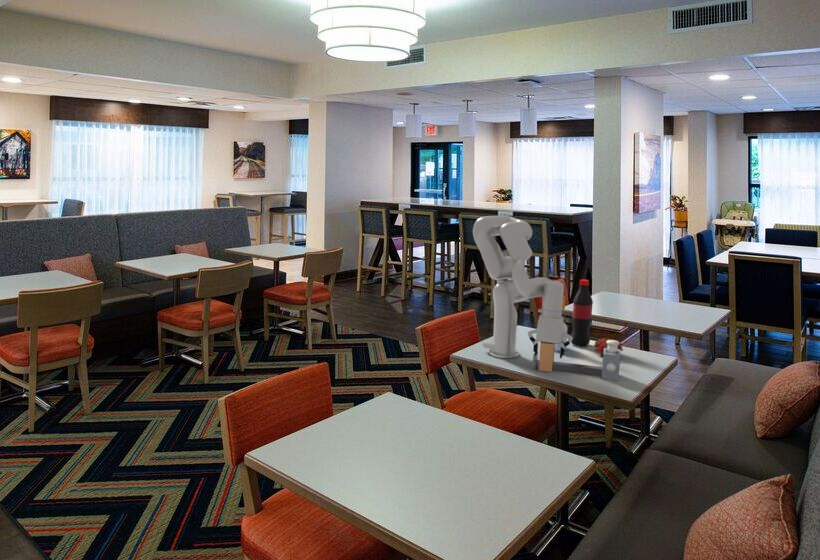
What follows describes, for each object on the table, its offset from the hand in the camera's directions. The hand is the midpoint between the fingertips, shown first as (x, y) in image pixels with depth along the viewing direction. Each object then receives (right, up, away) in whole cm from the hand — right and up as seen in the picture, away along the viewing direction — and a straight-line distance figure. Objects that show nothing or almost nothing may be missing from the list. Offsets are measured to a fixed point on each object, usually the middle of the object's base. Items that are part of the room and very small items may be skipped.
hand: (548, 355), depth 233 cm
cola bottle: (+22, 0, +35) cm, 41 cm away
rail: (+8, -6, -1) cm, 10 cm away
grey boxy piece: (+22, -7, -6) cm, 24 cm away
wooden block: (-1, -6, +2) cm, 6 cm away
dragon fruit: (+30, -3, +20) cm, 36 cm away
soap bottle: (+10, -1, +29) cm, 31 cm away
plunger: (+22, +1, -7) cm, 24 cm away
